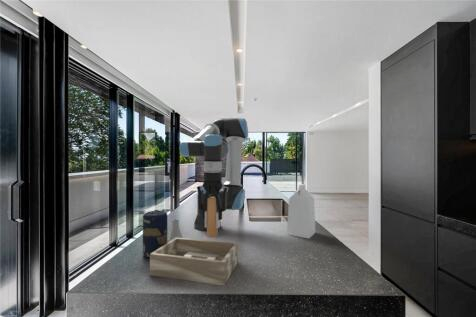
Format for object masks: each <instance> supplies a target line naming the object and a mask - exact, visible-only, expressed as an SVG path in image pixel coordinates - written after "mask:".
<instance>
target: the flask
mask: <svg viewBox="0 0 476 317" xmlns="http://www.w3.org/2000/svg"><path fill="white" fill-rule="evenodd" d="M179 221H180V219H179V218H178V219H177V218H175V219H172V220H171V223H172V224H171V229H170V231H169V235H168V236H167V243H168V242H169V241H171V240H173V239H174V238H184V237H183V235H182V233H181V230H180V225H179Z"/></svg>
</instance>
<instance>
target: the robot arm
mask: <svg viewBox="0 0 476 317" xmlns="http://www.w3.org/2000/svg"><path fill="white" fill-rule="evenodd" d="M223 138H224V139H225V141H226V142H225V141H223ZM247 138H249V128H248V122H247V120H246V119H245V118H241V117H235V118H233V117H231V118H227V117H226V118H218V119H215V120H212V121H210V122H208V123H207V124H205V126H204V128H203V130H201V131H200V132H199V133H198V134H196V135H195V136H194V137H193V138H192V139H190V140H187V139H186V140H182V141H181V142H180V144H179V154H180V156H182V157H184V158H185V157H187V158H203V171H204V172H203V183H202V185H198V186H196V191H197V195H196V196H197V202H196V203H197V207H196V208H197V214H196V216H195V219H194V222H193V227H194V229H196V230H198V231H207V198H209V197H215V199H216V204H217V208H218V212H217V213H216V228H218V229H220V228H221V227H222V222H221V220H223V212H225V211H226V210H230V211H239V210H241V209H242V208H243V206H244V204H245V198H246V190H245V189H244V188H243V185H242V184H241V174H242V173H241V172H242V156H243V144H244V142H246V139H247ZM224 157H226V164H225V180H224V183H223V182H222V181H223V179H222V177H223V176H222V175H223V174H222V171H223V168H222V167H223V164H222V163H223V158H224Z"/></svg>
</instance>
